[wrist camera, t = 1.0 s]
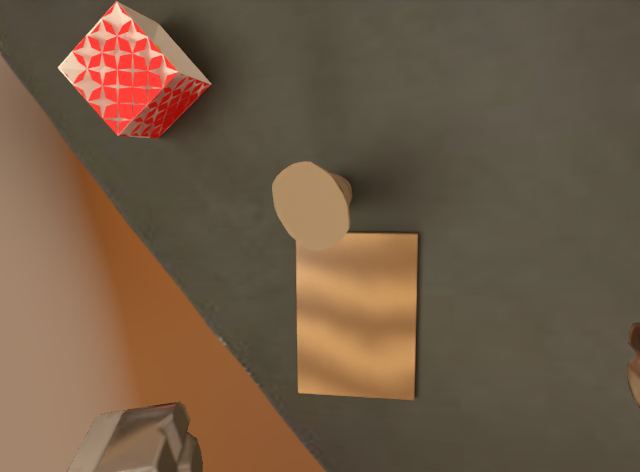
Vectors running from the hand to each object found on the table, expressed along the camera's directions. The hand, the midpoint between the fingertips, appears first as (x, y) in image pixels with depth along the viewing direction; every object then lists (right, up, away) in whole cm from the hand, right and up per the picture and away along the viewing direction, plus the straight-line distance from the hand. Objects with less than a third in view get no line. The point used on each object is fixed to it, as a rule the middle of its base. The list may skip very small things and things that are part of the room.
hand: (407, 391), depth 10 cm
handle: (0, +7, +43) cm, 43 cm away
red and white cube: (-18, +18, +44) cm, 51 cm away
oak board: (+2, -5, +44) cm, 44 cm away
